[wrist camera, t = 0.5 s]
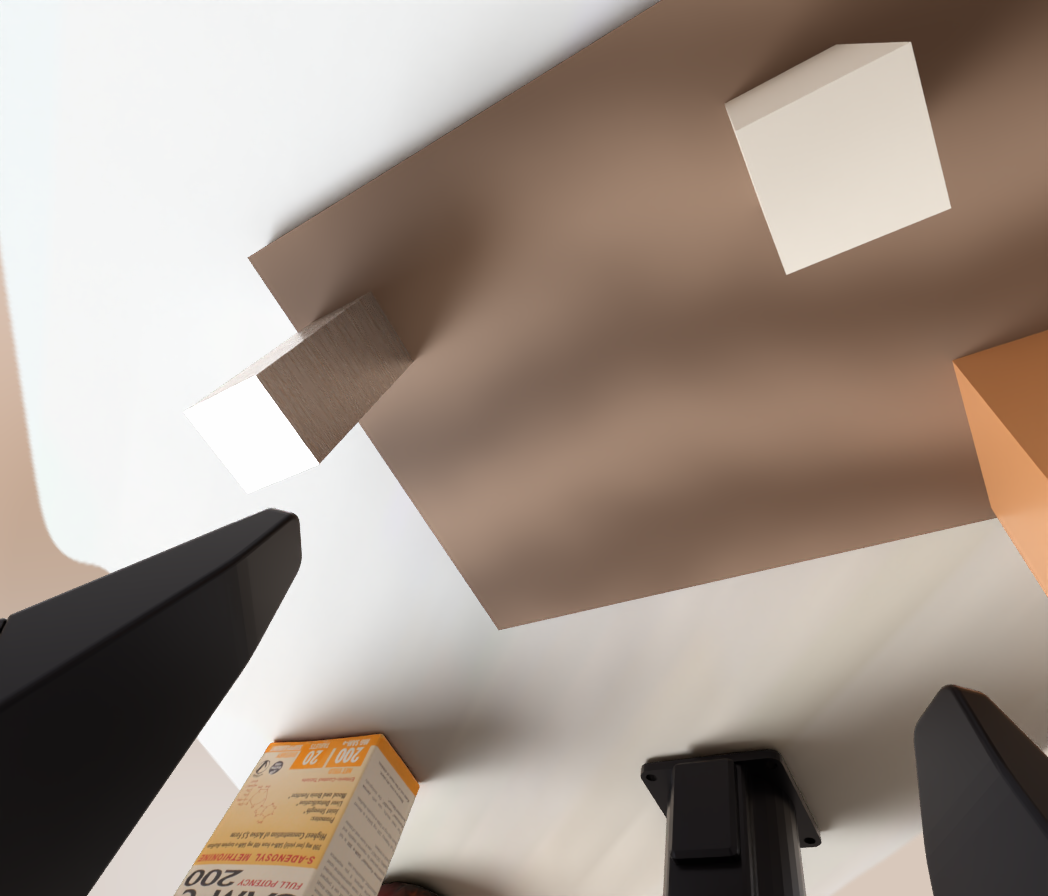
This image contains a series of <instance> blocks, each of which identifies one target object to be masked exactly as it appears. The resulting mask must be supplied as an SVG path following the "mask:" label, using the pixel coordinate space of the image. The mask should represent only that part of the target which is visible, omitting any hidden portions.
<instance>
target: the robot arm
mask: <svg viewBox="0 0 1048 896" xmlns="http://www.w3.org/2000/svg"><path fill="white" fill-rule="evenodd" d="M301 559H302V552H301V537H300V523H299V519H298V517H297V515H295V514H294V513H291V512H287V511H283V510H280V509H276V508H268V509H265V510H262V511H260V512H258V513H255V514H253V515H250V516H248V517H246V518H243V519H241V520H238V521H236V522H233V523H231V524H229V525H226V526H224V527H221V528H219V529H217V530H214V531H212V532H209V533H207V534H205V535H202V536H200V537H197V538H195V539H192V540H190V541H188V542H185V543H183V544H180V545H178V546H176V547H173V548H171V549H168V550H166V551H164V552H161V553H159V554H156V555H154V556H151V557H149V558H147V559H144V560H142V561H139V562H137V563H135V564H132V565H130V566H127V567H125V568H123V569H120V570H118V571H115V572H113V573H110V574H108V575H106V576H103V577H101V578H98V579H96V580H94V581H91V582H89V583H86V584H84V585H82V586H79V587H77V588H74V589H72V590H69V591H67V592H65V593H62V594H60V595H57V596H55V597H53V598H50V599H48V600H45V601H43V602H40V603H38V604H36V605H33V606H31V607H28V608H26V609H24V610H21V611H19V612H16V613H14V614H12V615H10V616H9V617H8V619H5V618H2V619H0V896H87V895H88V893H89V892H90V891H91V889H92V888H93V886H94V885H95V883H96V882H97V881H98V879H99V878H100V876H101V875H102V873H103V872H104V870H105V869H106V867H107V866H108V865H109V863H110V862H111V860H112V859H113V857H114V856H115V855H116V853H117V852H118V850H119V849H120V847H121V846H122V844H123V843H124V841H125V840H126V838H127V837H128V836H129V834H130V833H131V831H132V830H133V829H134V827H135V826H136V824H137V823H138V821H139V820H140V818H141V817H142V816H143V814H144V813H145V811H146V810H147V808H148V807H149V805H150V804H151V802H152V801H153V800H154V798H155V797H156V795H157V794H158V792H159V791H160V789H161V788H162V787H163V785H164V784H165V782H166V781H167V779H168V778H169V776H170V775H171V773H172V772H173V771H174V769H175V768H176V766H177V765H178V763H179V762H180V761H181V759H182V758H183V756H184V755H185V753H186V752H187V750H188V749H189V748H190V746H191V745H192V743H193V742H194V740H195V739H196V737H197V736H198V735H199V733H200V732H201V730H202V729H203V727H204V726H205V724H206V723H207V722H208V720H209V719H210V717H211V716H212V714H213V713H214V711H215V710H216V709H217V707H218V706H219V704H220V703H221V701H222V700H223V698H224V697H225V696H226V694H227V693H228V691H229V690H230V688H231V687H232V685H233V684H234V683H235V681H236V680H237V678H238V677H239V675H240V674H241V672H242V671H243V669H244V668H245V666H246V665H247V663H248V662H249V660H250V658H251V657H252V655H253V653H254V652H255V650H256V648H257V646H258V645H259V643H260V641H261V639H262V637H263V635H264V633H265V632H266V630H267V628H268V626H269V624H270V622H271V621H272V619H273V617H274V615H275V613H276V611H277V610H278V608H279V606H280V604H281V602H282V600H283V598H284V597H285V595H286V593H287V591H288V589H289V587H290V586H291V584H292V582H293V580H294V578H295V576H296V575H297V573H298V570H299V568H300V564H301ZM914 748H915V758H916V768H917V777H918V787H919V797H920V807H921V817H922V827H923V836H924V845H925V852H926V859H927V865H928V870H929V875H930V880H931V885H932V890H933V895H934V896H1048V757H1047V756H1046V755H1045V754H1044V753H1043V752H1042V751H1041V750H1040V749H1039V748H1038V747H1037V746H1036V745H1035V744H1034V743H1033V742H1032V741H1031V740H1030V739H1029V738H1028V737H1027V736H1026V735H1025V734H1024V733H1023V732H1022V731H1021V730H1020V729H1019V728H1018V727H1017V726H1016V725H1015V724H1014V723H1013V722H1012V721H1011V720H1010V719H1009V718H1008V717H1007V716H1006V715H1005V714H1004V713H1003V712H1002V711H1001V710H1000V709H999V708H998V707H997V706H996V705H995V704H994V703H993V702H992V701H991V700H990V699H989V698H988V697H987V696H986V695H985V694H983V693H981V692H979V691H976V690H972V689H968V688H964V687H961V686H957V685H946V686H944V687H942V688H941V689H940V691H939V692H938V693H937V695H936V696H935V697H934V699H933V700H932V702H931V703H930V705H929V706H928V707H927V709H926V710H925V712H924V713H923V715H922V716H921V717H920V719H919V720H918V722H917V724H916V727H915V731H914ZM641 779H642V780H643V782H644V784H645V785H646V787H647V788H648V790H649V791H650V793H651V795H652V796H653V798H654V799H655V801H656V802H657V804H658V806H659V807H660V809H661V810H662V812H663V813H664V815H665V816H666V818H667V823H666V844H665V866H664V888H663V896H806V891H805V883H804V875H803V867H802V858H801V850H800V848H806V847H817V846H819V845H820V844H821V837H820V831H819V829H818V827H817V825H816V823H815V821H814V819H813V817H812V815H811V813H810V811H809V809H808V807H807V805H806V803H805V801H804V799H803V797H802V795H801V793H800V791H799V789H798V787H797V785H796V783H795V781H794V779H793V778H792V776H791V774H790V772H789V770H788V768H787V766H786V764H785V762H784V760H783V758H782V756H781V755H780V753H778V752H776V751H773V750H760V751H751V752H742V753H733V754H725V755H716V756H707V757H698V758H689V759H681V760H672V761H663V762H654V763H647V764H644V765H643V766H642V768H641Z"/></svg>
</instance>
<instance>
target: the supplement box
mask: <svg viewBox="0 0 1048 896" xmlns="http://www.w3.org/2000/svg"><path fill="white" fill-rule="evenodd" d="M418 790H419V784H418V782H417V781H416V779H415V778H414V777H413V775H412V774H411V772H410V770H409V769H408V768H407V767H406V765H405V764H404V762H403V761H402V760H401V758H400V757H399V756H398V754H397V753H396V752H395V750H394V749H393V747H392V746H391V745H390V743H389V742H388V740H387V739H386V738H385V736H384V735H383V734H373V735H367V736H359V737H348V738H339V739H328V740H319V741H317V740H316V741H305V742H277V743H276V742H275V743H271V744H270V745H269V746H268V747H267V749H266V751H265V752H264V754H263V756H262V757H261V759H260V760H259V762H258V763H257V765H256V767H255V768H254V769H253V771H252V773H251V774H250V776H249V777H248V779H247V780H246V782H245V784H244V785H243V787H242V789H241V790H240V792H239V793H238V795H237V797H236V798H235V800H234V801H233V803H232V804H231V806H230V808H229V809H228V810H227V812H226V814H225V816H224V817H223V819H222V820H221V822H220V823H219V825H218V826H217V828H216V830H215V831H214V833H213V834H212V836H211V837H210V839H209V841H208V842H207V844H206V845H205V847H204V848H203V850H202V852H201V853H200V855H199V856H198V858H197V859H196V861H195V863H194V864H193V866H192V868H191V869H190V871H189V872H188V874H187V875H186V877H185V879H184V880H183V881H182V883H181V885H180V886H179V888H178V889H177V891H176V893H175V895H174V896H377V895H378V893H379V890H380V887H381V885H382V882H383V880H384V878H385V875H386V872H387V870H388V867H389V864H390V861H391V859H392V857H393V855H394V852H395V849H396V846H397V844H398V841H399V839H400V836H401V833H402V831H403V828H404V826H405V823H406V821H407V818H408V816H409V813H410V810H411V808H412V805H413V803H414V800H415V797H416V795H417V792H418Z"/></svg>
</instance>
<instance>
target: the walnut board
mask: <svg viewBox="0 0 1048 896" xmlns="http://www.w3.org/2000/svg"><path fill="white" fill-rule="evenodd" d="M890 42H911V44H912V48H913V52H914V57H915V61H916V65H917V69H918V73H919V77H920V81H921V85H922V90H923V94H924V98H925V102H926V106H927V110H928V114H929V118H930V122H931V127H932V131H933V135H934V139H935V143H936V147H937V151H938V155H939V160H940V164H941V168H942V172H943V176H944V180H945V184H946V188H947V192H948V197H949V201H950V205H951V209H948V210H946V211H943V212H941V213H938V214H936V215H933V216H931V217H928V218H926V219H923V220H921V221H919V222H916V223H914V224H911V225H909V226H906V227H904V228H901V229H899V230H896V231H894V232H891V233H889V234H886V235H884V236H881V237H879V238H877V239H874V240H872V241H869V242H867V243H864V244H862V245H859V246H857V247H854V248H852V249H849V250H847V251H844V252H842V253H839V254H837V255H835V256H832V257H830V258H827V259H825V260H822V261H820V262H817V263H815V264H812V265H810V266H807V267H805V268H802V269H800V270H797V271H795V272H793V273H790V274H788V275H786V273H785V270H784V267H783V265H782V262H781V259H780V257H779V254H778V251H777V249H776V246H775V243H774V241H773V238H772V235H771V232H770V230H769V227H768V224H767V222H766V219H765V216H764V214H763V211H762V208H761V206H760V203H759V200H758V197H757V194H756V192H755V189H754V186H753V183H752V180H751V178H750V175H749V172H748V169H747V166H746V163H745V161H744V158H743V155H742V152H741V149H740V146H739V144H738V141H737V138H736V135H735V132H734V130H733V127H732V124H731V121H730V118H729V115H728V113H727V110H726V107H725V103H727V102H729V101H730V100H732V99H734V98H736V97H738V96H740V95H742V94H744V93H746V92H747V91H749V90H751V89H753V88H755V87H757V86H759V85H761V84H763V83H764V82H766V81H768V80H770V79H772V78H774V77H776V76H778V75H780V74H781V73H783V72H785V71H787V70H789V69H791V68H793V67H795V66H796V65H798V64H800V63H802V62H804V61H806V60H808V59H810V58H812V57H813V56H815V55H817V54H819V53H821V52H823V51H825V50H827V49H829V48H830V47H832V46H834V45H837V44H863V43H890ZM248 259H249V261H250V262H251V263H252V265H253V266H254V268H255V269H256V271H257V272H258V274H259V275H260V277H261V278H262V280H263V281H264V283H265V284H266V286H267V287H268V289H269V290H270V292H271V293H272V295H273V296H274V298H275V299H276V301H277V302H278V304H279V305H280V306H281V308H282V309H283V311H284V312H285V314H286V315H287V317H288V318H289V320H290V321H291V323H292V324H293V326H294V327H295V329H296V330H297V332H299V331H301V330H302V329H303V328H305V327H306V326H308V325H309V324H311V323H312V322H314V321H316V320H318V319H320V318H321V317H323V316H325V315H327V314H329V313H331V312H333V311H335V310H337V309H338V308H340V307H342V306H344V305H346V304H348V303H350V302H352V301H354V300H355V299H357V298H359V297H361V296H363V295H365V294H367V293H369V292H372V294H373V295H374V297H375V299H376V300H377V302H378V303H379V305H380V307H381V308H382V310H383V312H384V313H385V315H386V316H387V318H388V320H389V321H390V323H391V325H392V326H393V328H394V330H395V331H396V333H397V334H398V336H399V338H400V339H401V341H402V343H403V344H404V346H405V348H406V349H407V351H408V352H409V354H410V356H411V357H412V359H413V361H414V362H413V363H412V364H411V365H410V366H409V367H408V368H407V369H406V371H405V372H404V373H403V374H402V375H401V376H400V377H399V378H398V379H397V380H396V381H395V382H394V384H393V385H392V386H391V387H390V388H389V389H388V390H387V391H386V392H385V393H384V394H383V395H382V397H381V398H380V399H379V400H378V401H377V402H376V403H375V404H374V405H373V406H372V407H371V408H370V410H369V411H368V412H367V413H366V414H365V415H364V416H363V417H362V418H361V419H360V420H359V421H358V422H359V424H360V425H361V427H362V428H363V430H364V431H365V433H366V434H367V435H368V437H369V438H370V440H371V441H372V443H373V444H374V446H375V447H376V449H377V450H378V452H379V453H380V455H381V456H382V458H383V459H384V461H385V462H386V464H387V465H388V467H389V468H390V470H391V471H392V473H393V474H394V476H395V477H396V479H397V480H398V481H399V483H400V484H401V486H402V487H403V489H404V490H405V492H406V493H407V495H408V496H409V498H410V499H411V501H412V502H413V504H414V505H415V507H416V508H417V510H418V511H419V513H420V514H421V516H422V517H423V519H424V520H425V522H426V523H427V524H428V526H429V527H430V529H431V530H432V532H433V533H434V535H435V536H436V538H437V539H438V541H439V542H440V544H441V545H442V547H443V548H444V550H445V551H446V553H447V554H448V556H449V557H450V559H451V560H452V562H453V563H454V565H455V566H456V567H457V569H458V570H459V572H460V573H461V575H462V576H463V578H464V579H465V581H466V582H467V584H468V585H469V587H470V588H471V590H472V591H473V593H474V594H475V596H476V597H477V599H478V600H479V602H480V603H481V605H482V606H483V608H484V609H485V610H486V612H487V613H488V615H489V616H490V618H491V619H492V621H493V622H494V624H495V625H496V627H497V628H498V630H502V629H506V628H510V627H515V626H519V625H524V624H528V623H533V622H537V621H541V620H546V619H550V618H555V617H559V616H564V615H568V614H572V613H577V612H581V611H586V610H590V609H595V608H599V607H603V606H608V605H612V604H617V603H621V602H626V601H630V600H634V599H639V598H643V597H648V596H652V595H657V594H661V593H665V592H670V591H674V590H679V589H683V588H688V587H692V586H696V585H701V584H705V583H710V582H714V581H719V580H723V579H727V578H732V577H736V576H741V575H745V574H750V573H754V572H758V571H763V570H767V569H772V568H776V567H781V566H785V565H789V564H794V563H798V562H803V561H807V560H812V559H816V558H820V557H825V556H829V555H834V554H838V553H843V552H847V551H851V550H856V549H860V548H865V547H869V546H874V545H878V544H882V543H887V542H891V541H896V540H900V539H905V538H909V537H913V536H918V535H922V534H927V533H931V532H935V531H940V530H944V529H949V528H953V527H958V526H962V525H966V524H971V523H975V522H980V521H984V520H989V519H993V518H997V516H996V515H995V513H994V511H993V510H992V508H991V505H990V501H989V497H988V494H987V490H986V486H985V482H984V479H983V475H982V471H981V467H980V463H979V460H978V456H977V452H976V448H975V445H974V441H973V437H972V433H971V430H970V426H969V422H968V418H967V415H966V411H965V407H964V403H963V400H962V396H961V392H960V388H959V385H958V381H957V377H956V373H955V370H954V366H953V362H952V360H955V359H958V358H961V357H965V356H968V355H971V354H974V353H977V352H980V351H983V350H986V349H990V348H993V347H996V346H999V345H1002V344H1005V343H1008V342H1011V341H1015V340H1018V339H1021V338H1024V337H1027V336H1030V335H1033V334H1037V333H1040V332H1043V331H1046V330H1048V0H661V1H660V2H658V3H656V4H655V5H653V6H651V7H650V8H648V9H647V10H645V11H643V12H642V13H640V14H639V15H637V16H635V17H634V18H632V19H631V20H629V21H627V22H626V23H624V24H623V25H621V26H619V27H618V28H616V29H614V30H613V31H611V32H610V33H608V34H606V35H605V36H603V37H602V38H600V39H598V40H597V41H595V42H594V43H592V44H590V45H589V46H587V47H586V48H584V49H582V50H581V51H579V52H578V53H576V54H574V55H573V56H571V57H569V58H568V59H566V60H565V61H563V62H561V63H560V64H558V65H557V66H555V67H553V68H552V69H550V70H549V71H547V72H545V73H544V74H542V75H541V76H539V77H537V78H536V79H534V80H532V81H531V82H529V83H528V84H526V85H524V86H523V87H521V88H520V89H518V90H516V91H515V92H513V93H512V94H510V95H508V96H507V97H505V98H504V99H502V100H500V101H499V102H497V103H496V104H494V105H492V106H491V107H489V108H487V109H486V110H484V111H483V112H481V113H479V114H478V115H476V116H475V117H473V118H471V119H470V120H468V121H467V122H465V123H463V124H462V125H460V126H459V127H457V128H455V129H454V130H452V131H450V132H449V133H447V134H446V135H444V136H442V137H441V138H439V139H438V140H436V141H434V142H433V143H431V144H430V145H428V146H426V147H425V148H423V149H422V150H420V151H418V152H417V153H415V154H414V155H412V156H410V157H409V158H407V159H405V160H404V161H402V162H401V163H399V164H397V165H396V166H394V167H393V168H391V169H389V170H388V171H386V172H385V173H383V174H381V175H380V176H378V177H377V178H375V179H373V180H372V181H370V182H368V183H367V184H365V185H364V186H362V187H360V188H359V189H357V190H356V191H354V192H352V193H351V194H349V195H348V196H346V197H344V198H343V199H341V200H340V201H338V202H336V203H335V204H333V205H332V206H330V207H328V208H327V209H325V210H323V211H322V212H320V213H319V214H317V215H315V216H314V217H312V218H311V219H309V220H307V221H306V222H304V223H303V224H301V225H299V226H298V227H296V228H295V229H293V230H291V231H290V232H288V233H286V234H285V235H283V236H282V237H280V238H278V239H277V240H275V241H274V242H272V243H270V244H269V245H267V246H266V247H264V248H262V249H261V250H259V251H258V252H256V253H254V254H253V255H251V256H250V257H248Z"/></svg>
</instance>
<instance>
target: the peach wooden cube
mask: <svg viewBox="0 0 1048 896" xmlns="http://www.w3.org/2000/svg"><path fill="white" fill-rule="evenodd" d="M952 362H953V366H954V370H955V373H956V377H957V381H958V385H959V388H960V392H961V396H962V400H963V403H964V407H965V411H966V415H967V418H968V422H969V426H970V430H971V433H972V437H973V441H974V445H975V448H976V452H977V456H978V460H979V463H980V467H981V471H982V475H983V479H984V482H985V486H986V490H987V494H988V497H989V501H990V505H991V508H992V510H993V511H994V513H995V515H996V516H997V518H998V519H999V521H1000V523H1001V524H1002V526H1003V527H1004V529H1005V530H1006V532H1007V534H1008V535H1009V537H1010V538H1011V540H1012V542H1013V543H1014V545H1015V546H1016V548H1017V550H1018V551H1019V553H1020V554H1021V556H1022V557H1023V559H1024V561H1025V562H1026V564H1027V565H1028V567H1029V569H1030V570H1031V572H1032V573H1033V575H1034V576H1035V578H1036V580H1037V581H1038V583H1039V584H1040V586H1041V588H1042V589H1043V591H1044V592H1045V594H1046V596H1047V597H1048V330H1046V331H1043V332H1040V333H1037V334H1033V335H1030V336H1027V337H1024V338H1021V339H1018V340H1015V341H1011V342H1008V343H1005V344H1002V345H999V346H996V347H993V348H990V349H986V350H983V351H980V352H977V353H974V354H971V355H968V356H965V357H961V358H958V359H955V360H952Z"/></svg>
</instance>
